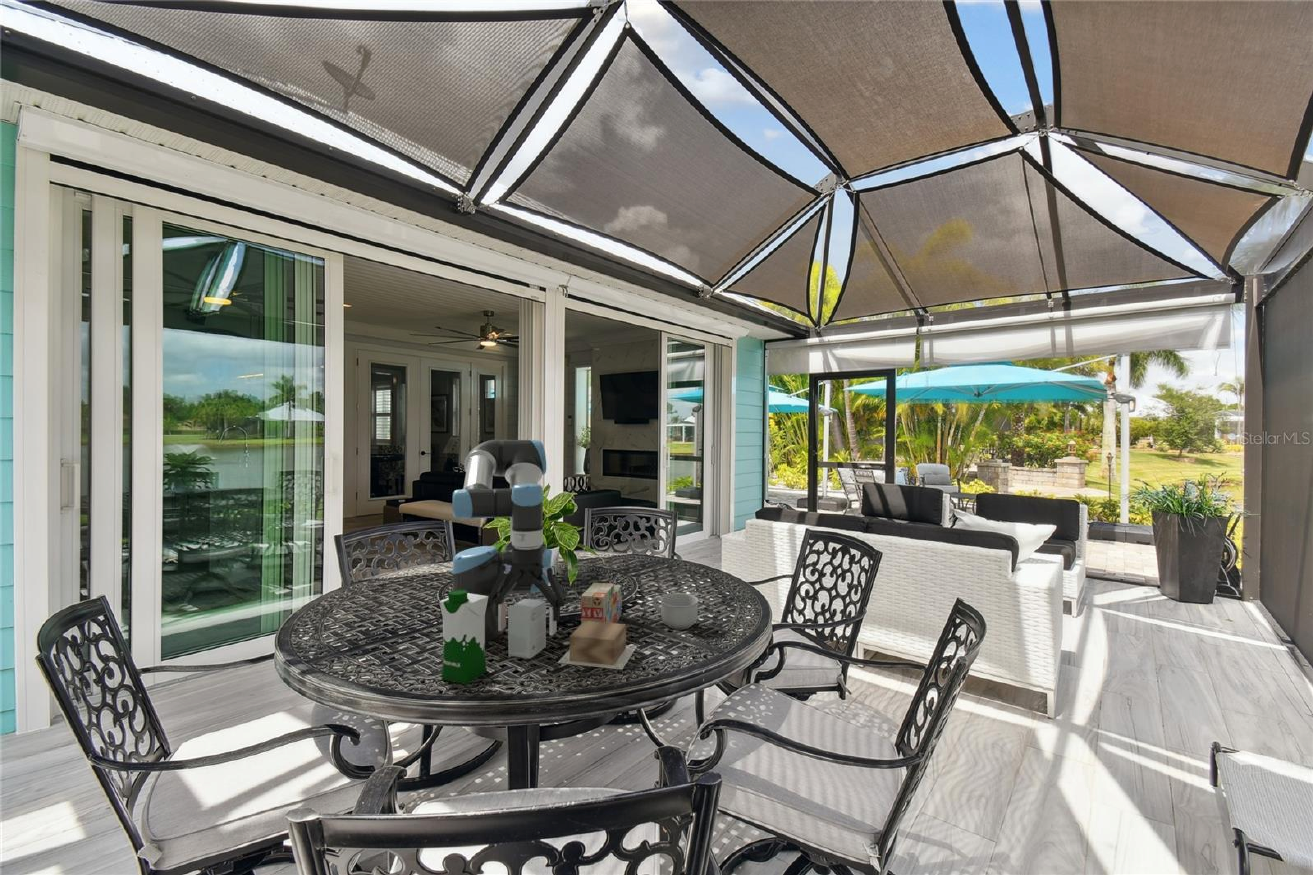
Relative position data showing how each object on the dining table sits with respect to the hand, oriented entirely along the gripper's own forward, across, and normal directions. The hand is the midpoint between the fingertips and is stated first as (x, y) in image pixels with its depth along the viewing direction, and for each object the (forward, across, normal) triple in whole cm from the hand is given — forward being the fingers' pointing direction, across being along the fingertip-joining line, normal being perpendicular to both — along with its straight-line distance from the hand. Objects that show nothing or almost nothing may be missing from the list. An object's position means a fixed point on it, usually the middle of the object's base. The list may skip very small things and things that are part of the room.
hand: (527, 631), depth 146 cm
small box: (+6, 0, 0) cm, 6 cm away
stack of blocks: (+6, +12, +24) cm, 28 cm away
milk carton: (+7, -9, -14) cm, 18 cm away
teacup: (+6, +32, +30) cm, 44 cm away
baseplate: (+6, +18, +2) cm, 19 cm away
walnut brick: (+5, +18, +2) cm, 19 cm away
